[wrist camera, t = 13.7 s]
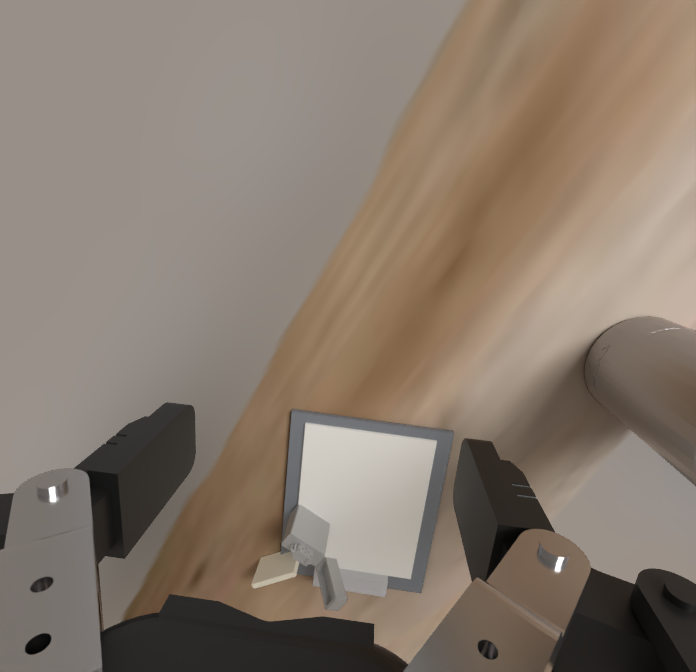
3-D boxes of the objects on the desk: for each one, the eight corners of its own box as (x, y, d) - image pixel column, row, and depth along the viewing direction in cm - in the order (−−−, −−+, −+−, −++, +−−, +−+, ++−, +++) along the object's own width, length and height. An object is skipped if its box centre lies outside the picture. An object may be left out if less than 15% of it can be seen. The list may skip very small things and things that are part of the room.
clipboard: (452, 430, 41) (455, 439, 39) (420, 589, 47) (422, 602, 45) (292, 409, 42) (289, 417, 40) (280, 567, 48) (276, 580, 46)
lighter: (289, 514, 44) (270, 576, 37) (298, 503, 44) (281, 564, 36) (344, 549, 45) (336, 617, 37) (353, 539, 45) (347, 606, 37)
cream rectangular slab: (300, 545, 46) (293, 571, 43) (302, 549, 47) (296, 576, 43) (260, 557, 47) (251, 584, 44) (263, 561, 47) (253, 588, 44)
